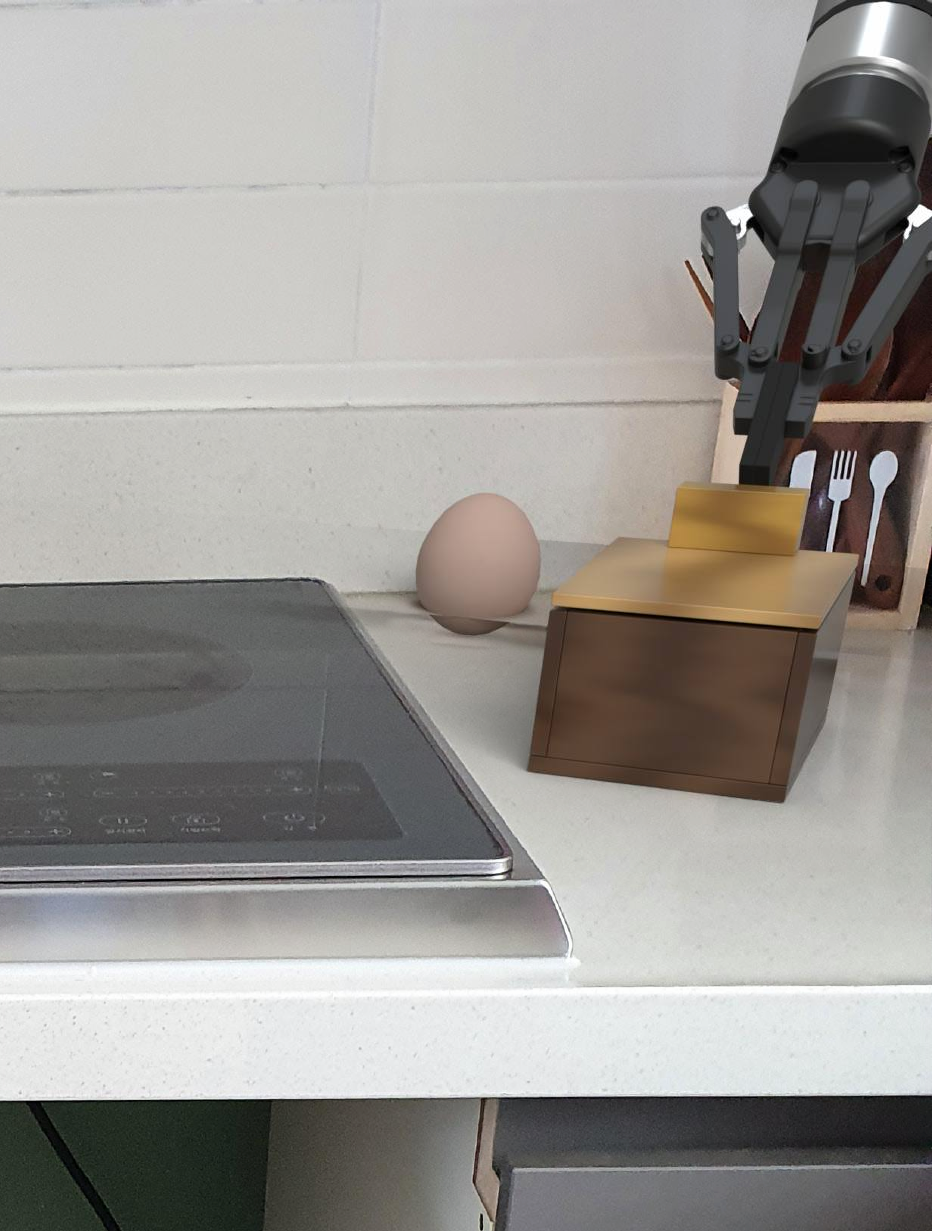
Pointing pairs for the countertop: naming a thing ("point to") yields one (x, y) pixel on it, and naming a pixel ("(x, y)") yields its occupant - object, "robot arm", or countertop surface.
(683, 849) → the countertop surface
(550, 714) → the box
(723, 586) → the lid
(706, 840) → the countertop surface
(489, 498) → the egg
